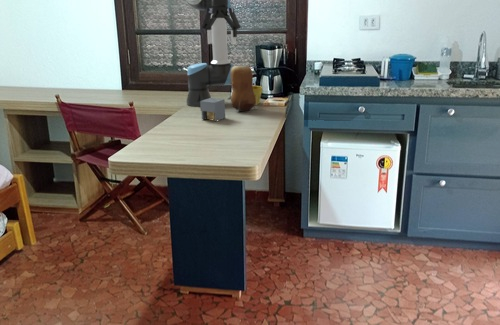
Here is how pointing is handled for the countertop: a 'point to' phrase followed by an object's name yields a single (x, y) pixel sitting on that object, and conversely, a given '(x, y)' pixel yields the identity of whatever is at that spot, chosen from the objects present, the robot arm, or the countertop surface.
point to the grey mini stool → (213, 107)
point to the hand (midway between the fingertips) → (221, 44)
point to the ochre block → (211, 115)
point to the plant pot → (257, 93)
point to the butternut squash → (242, 88)
